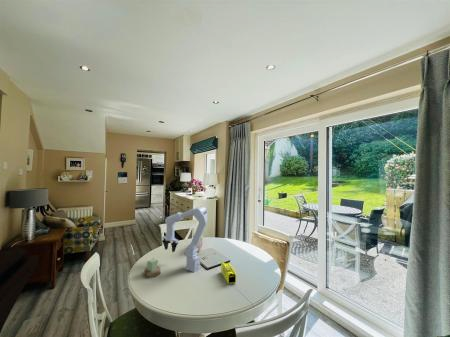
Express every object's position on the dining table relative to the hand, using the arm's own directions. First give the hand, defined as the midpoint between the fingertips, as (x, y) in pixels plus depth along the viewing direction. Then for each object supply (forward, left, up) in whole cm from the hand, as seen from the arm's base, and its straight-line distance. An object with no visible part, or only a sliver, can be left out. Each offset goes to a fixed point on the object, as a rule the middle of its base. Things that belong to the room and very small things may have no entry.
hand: (169, 250), depth 150 cm
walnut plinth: (-2, +17, -9) cm, 20 cm away
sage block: (-2, +17, -6) cm, 18 cm away
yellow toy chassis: (-46, -8, -10) cm, 48 cm away
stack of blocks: (0, -32, -10) cm, 33 cm away
